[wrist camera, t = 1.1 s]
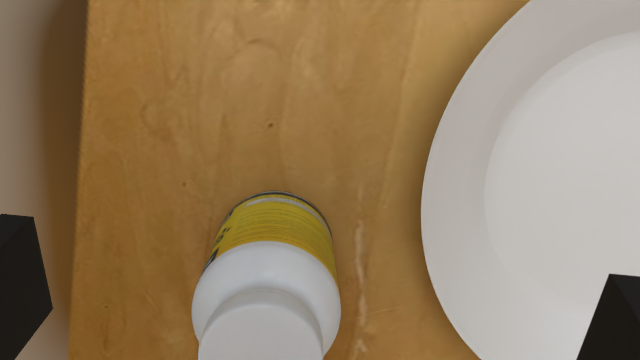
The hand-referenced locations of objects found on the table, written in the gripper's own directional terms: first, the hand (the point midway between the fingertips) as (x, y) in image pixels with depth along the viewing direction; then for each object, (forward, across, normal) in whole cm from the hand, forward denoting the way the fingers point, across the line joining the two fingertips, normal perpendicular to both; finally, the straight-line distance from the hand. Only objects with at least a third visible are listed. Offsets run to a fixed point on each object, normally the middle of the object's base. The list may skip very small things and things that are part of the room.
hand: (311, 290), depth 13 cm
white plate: (+19, +16, -5) cm, 26 cm away
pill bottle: (+16, -3, -10) cm, 19 cm away
